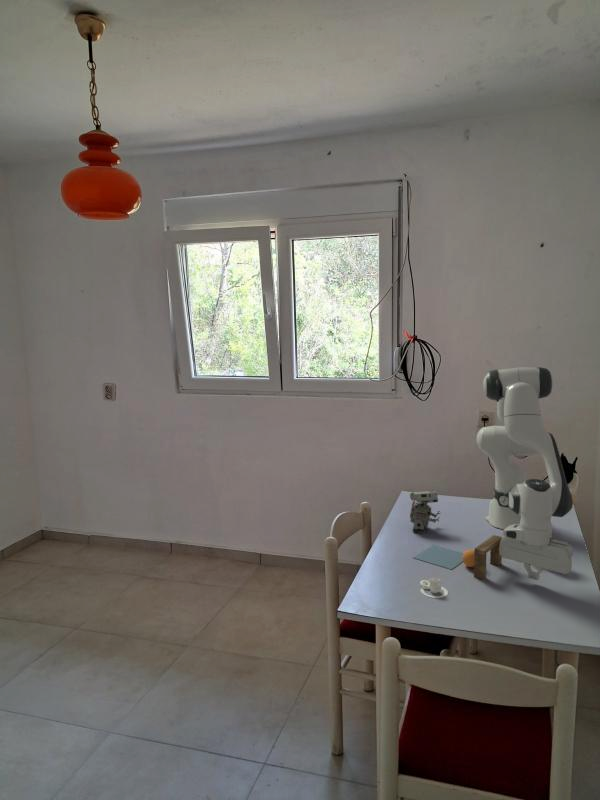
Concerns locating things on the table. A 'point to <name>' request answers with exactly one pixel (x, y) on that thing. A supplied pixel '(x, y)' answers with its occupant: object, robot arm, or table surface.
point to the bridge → (480, 556)
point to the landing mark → (441, 557)
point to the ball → (468, 558)
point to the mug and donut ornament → (432, 587)
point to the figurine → (422, 509)
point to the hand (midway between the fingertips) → (533, 578)
